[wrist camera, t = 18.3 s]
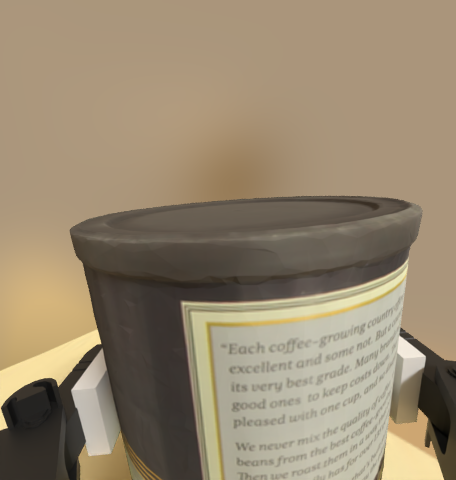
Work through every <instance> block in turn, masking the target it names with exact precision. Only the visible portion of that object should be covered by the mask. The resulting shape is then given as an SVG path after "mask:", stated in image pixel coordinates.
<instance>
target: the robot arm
mask: <svg viewBox="0 0 456 480" xmlns="http://www.w3.org/2000/svg"><path fill="white" fill-rule="evenodd" d="M418 408H419V409H420V410H421V411H422V412H423V413H424V414H425V415H426V416H427V417H428V423H427V430H426V436H425V446H426V447H428V448H429V446H430V441H432V444H433V447H434V450H435V453H436V456H437V459H438V462H439V465H440V468H441V471H442V474H443V477H444V480H456V361H448V360H444V359H442V358H441V357H439V356H438V355H437V354H436V353H434V352H433V351H432V350H430V349H429V348H427V347H426V346H425V345H423V344H422V343H421V342H419V341H418V340H417V339H414V337H413V336H411V335H410V334H409V333H406V332H405V330H403V329H402V328H401V327H400V333H399V341H398V349H397V358H396V366H395V374H394V382H393V390H392V397H391V405H390V413H389V416H390V417H391V418H392V419H393V421H394V422H395V423H396V424H400V423H410V422H417V415H418ZM1 410H2V413H3V415H4V418H5V421H6V424H7V427H8V428H6V429H4V430H1V431H0V480H80V464H79V460H78V456H79V454H80V452H81V450H82V449H83V447H84V445H85V444H86V448H87V452H88V455H89V456H95V455H104V454H111V453H112V450H113V448H114V445H115V443H116V440H117V438H118V435H119V433H120V430H121V429H120V425H119V420H118V416H117V412H116V407H115V403H114V399H113V394H112V390H111V385H110V381H109V376H108V372H107V368H106V364H105V359H104V353H103V348H102V344H99V345H96V346H95V347H93V348H92V349H91V350H89V351H88V352H87V353H86V354H85V355H84V356H83V358H82V359H81V360H80V361H79V364H77V365H76V366H75V367H74V369H73V371H72V372H70V374H69V375H68V376H67V377H66V378H65V380H64V381H63V382H62V383H61V385H60V386H59V387H58V385H57V382H56V380H54V379H52V378H44V379H40V380H37V381H34V382H32V383H30V384H28V385H26V386H24V387H22V388H21V389H19V390H18V391H16V392H15V393H13V394H12V395H11V396H10V397H9V398H8V399H7V400H6V401H5V403H4V404H3V406H2V407H1Z"/></svg>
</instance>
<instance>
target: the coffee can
mask: <svg viewBox="0 0 456 480" xmlns="http://www.w3.org/2000/svg"><path fill="white" fill-rule="evenodd" d="M421 218H422V208H421V207H420V206H418V205H416V204H413V203H410V202H406V201H404V200H398V199H392V198H379V197H362V196H301V197H300V196H298V197H297V196H296V197H274V198H254V199H238V200H226V201H212V202H203V203H190V204H181V205H171V206H163V207H154V208H146V209H138V210H131V211H125V212H119V213H113V214H108V215H104V216H99V217H96V218H92V219H88V220H86V221H84V222H81V223H79V224H77V225H75V226H74V227H72V228H71V229H70V234H71V239H72V242H73V246H74V250H75V253H76V256H77V257H78V258H79V260H81V261H82V263H83V266H84V271H85V276H86V280H87V284H88V288H89V292H90V296H91V302H92V307H93V312H94V316H95V320H96V324H97V328H98V332H99V336H100V340H101V344H102V348H103V353H104V359H105V364H106V368H107V372H108V376H109V381H110V385H111V390H112V394H113V399H114V403H115V407H116V412H117V416H118V420H119V425H120V429H121V433H122V437H123V442H124V447H125V451H126V456H127V460H128V465H129V469H130V473H131V477H132V480H381V478H382V472H383V468H384V454H385V445H386V437H387V429H388V421H389V413H390V405H391V397H392V390H393V382H394V374H395V366H396V358H397V349H398V341H399V333H400V325H401V316H402V309H403V300H404V292H405V284H406V276H407V268H408V259H409V250H410V246H411V245H412V243H413V242H414V241H415V240H416V238H417V236H418V231H419V227H420V222H421Z"/></svg>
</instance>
